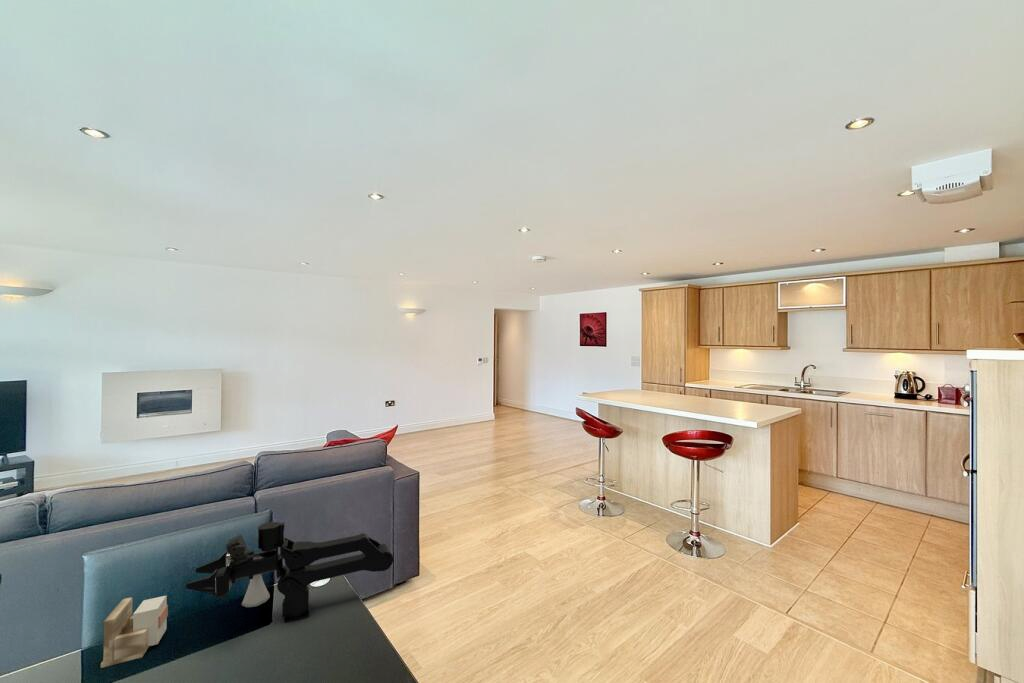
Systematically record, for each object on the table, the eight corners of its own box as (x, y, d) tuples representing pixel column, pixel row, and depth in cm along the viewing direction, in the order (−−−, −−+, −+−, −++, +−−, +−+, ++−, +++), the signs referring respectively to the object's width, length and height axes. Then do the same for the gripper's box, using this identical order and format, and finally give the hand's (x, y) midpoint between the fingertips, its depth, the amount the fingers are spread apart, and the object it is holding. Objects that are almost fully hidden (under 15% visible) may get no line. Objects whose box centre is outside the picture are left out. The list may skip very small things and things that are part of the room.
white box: (168, 628, 115) (168, 595, 115) (159, 643, 109) (159, 608, 109) (143, 634, 113) (143, 600, 113) (132, 650, 106) (133, 614, 107)
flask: (256, 609, 125) (256, 575, 125) (236, 607, 126) (236, 573, 127) (274, 595, 132) (274, 563, 133) (255, 594, 133) (255, 562, 134)
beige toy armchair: (159, 631, 116) (160, 591, 116) (144, 656, 106) (145, 612, 106) (120, 641, 112) (120, 599, 113) (100, 668, 102) (101, 621, 103)
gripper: (261, 523, 127) (199, 535, 121) (252, 547, 110) (179, 562, 104) (262, 560, 127) (200, 574, 120) (253, 590, 110) (180, 607, 103)
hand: (190, 578), depth 112 cm, fingers open, 9 cm apart
